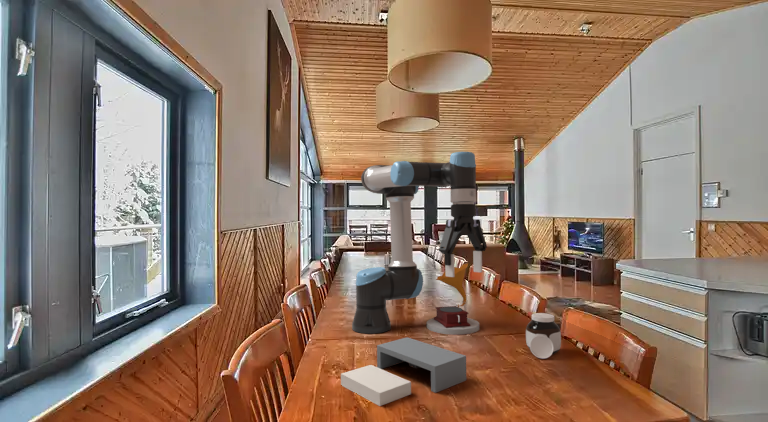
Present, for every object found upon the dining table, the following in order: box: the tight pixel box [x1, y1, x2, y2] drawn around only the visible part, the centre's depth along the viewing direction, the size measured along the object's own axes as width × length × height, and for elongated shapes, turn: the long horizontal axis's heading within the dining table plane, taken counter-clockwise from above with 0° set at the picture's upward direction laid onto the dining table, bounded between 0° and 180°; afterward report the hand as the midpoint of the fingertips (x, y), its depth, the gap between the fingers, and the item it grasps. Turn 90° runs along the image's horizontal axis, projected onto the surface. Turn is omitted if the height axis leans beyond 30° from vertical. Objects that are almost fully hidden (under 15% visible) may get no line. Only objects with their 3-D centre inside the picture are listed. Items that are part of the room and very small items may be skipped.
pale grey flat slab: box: [340, 364, 412, 407], centre depth 106 cm, size 16×10×3 cm, turn 40°
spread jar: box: [525, 312, 562, 360], centre depth 132 cm, size 12×11×12 cm
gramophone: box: [426, 263, 480, 336], centre depth 165 cm, size 20×20×25 cm
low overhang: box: [376, 337, 467, 394], centre depth 117 cm, size 23×12×6 cm, turn 40°
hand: (464, 274), depth 126 cm, fingers open, 13 cm apart
